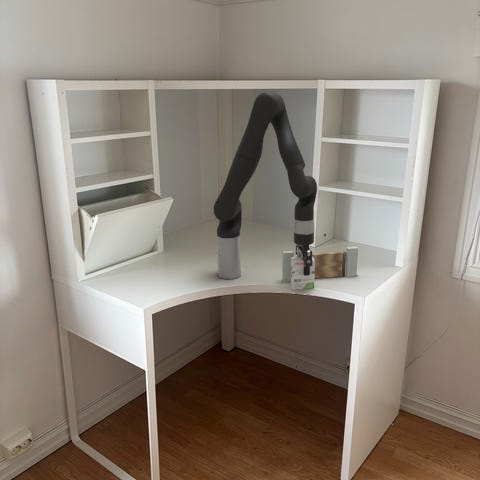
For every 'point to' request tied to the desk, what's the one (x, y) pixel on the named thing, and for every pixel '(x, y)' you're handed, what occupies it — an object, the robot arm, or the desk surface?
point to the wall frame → (349, 271)
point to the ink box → (301, 274)
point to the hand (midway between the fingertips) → (303, 271)
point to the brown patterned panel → (329, 264)
